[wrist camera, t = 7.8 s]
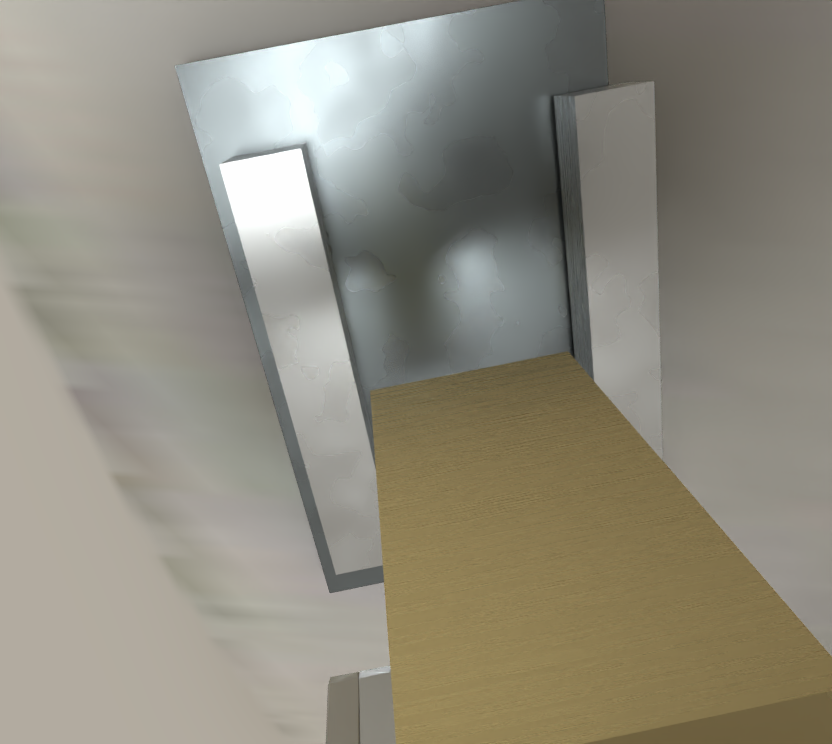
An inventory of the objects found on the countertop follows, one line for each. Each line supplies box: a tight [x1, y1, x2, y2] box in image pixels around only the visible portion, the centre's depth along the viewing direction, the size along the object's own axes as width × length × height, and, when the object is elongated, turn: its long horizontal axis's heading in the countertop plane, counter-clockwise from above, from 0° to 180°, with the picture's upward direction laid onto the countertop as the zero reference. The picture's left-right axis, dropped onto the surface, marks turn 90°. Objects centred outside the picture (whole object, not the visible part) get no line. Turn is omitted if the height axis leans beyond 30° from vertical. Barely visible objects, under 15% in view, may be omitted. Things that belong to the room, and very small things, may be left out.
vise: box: [175, 0, 608, 593], centre depth 25 cm, size 22×14×4 cm, turn 10°
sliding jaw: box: [554, 81, 663, 461], centre depth 21 cm, size 19×2×10 cm, turn 10°
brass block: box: [370, 351, 832, 744], centre depth 11 cm, size 4×8×8 cm, turn 10°
